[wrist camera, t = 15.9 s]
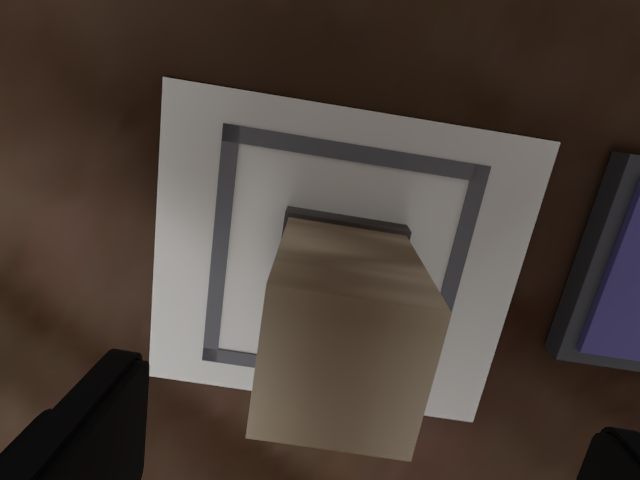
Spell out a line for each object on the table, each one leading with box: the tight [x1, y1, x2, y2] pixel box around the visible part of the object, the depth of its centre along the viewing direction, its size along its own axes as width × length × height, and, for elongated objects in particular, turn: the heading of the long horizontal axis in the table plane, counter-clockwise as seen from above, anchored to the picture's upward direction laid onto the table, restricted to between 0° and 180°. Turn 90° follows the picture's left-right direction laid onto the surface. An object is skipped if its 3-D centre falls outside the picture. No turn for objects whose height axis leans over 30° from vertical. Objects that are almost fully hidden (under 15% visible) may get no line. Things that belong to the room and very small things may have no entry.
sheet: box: [149, 77, 561, 422], centre depth 17 cm, size 14×12×1 cm
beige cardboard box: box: [246, 206, 452, 462], centre depth 14 cm, size 4×4×7 cm
